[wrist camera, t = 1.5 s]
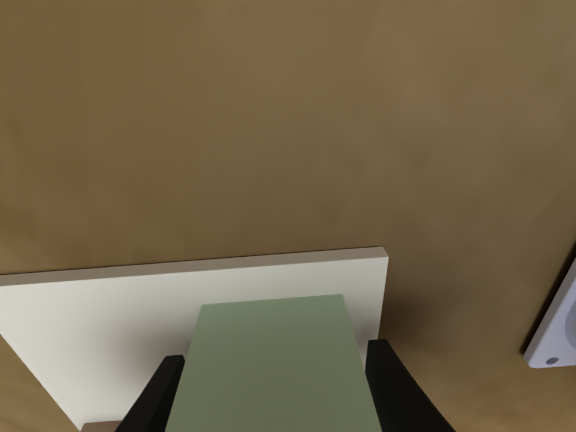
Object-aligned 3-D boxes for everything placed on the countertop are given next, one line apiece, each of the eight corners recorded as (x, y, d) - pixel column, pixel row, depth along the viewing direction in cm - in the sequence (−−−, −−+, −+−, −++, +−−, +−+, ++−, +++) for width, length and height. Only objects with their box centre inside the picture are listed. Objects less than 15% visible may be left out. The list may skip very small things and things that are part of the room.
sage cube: (342, 293, 10) (393, 471, 6) (338, 377, 13) (373, 547, 8) (202, 304, 10) (147, 491, 6) (225, 386, 13) (199, 562, 8)
